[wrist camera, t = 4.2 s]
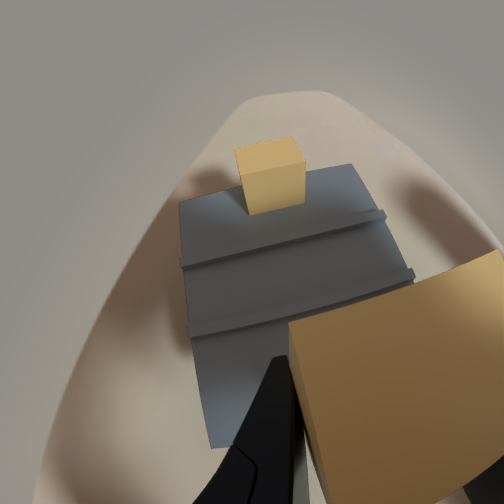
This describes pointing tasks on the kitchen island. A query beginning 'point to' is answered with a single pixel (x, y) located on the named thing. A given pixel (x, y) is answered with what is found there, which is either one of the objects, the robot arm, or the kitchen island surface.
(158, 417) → the kitchen island surface
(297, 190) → the gray board with blocks
